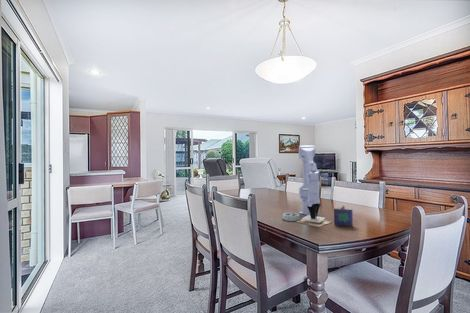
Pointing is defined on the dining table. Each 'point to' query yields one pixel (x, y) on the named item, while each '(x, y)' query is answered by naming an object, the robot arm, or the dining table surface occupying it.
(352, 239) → the dining table surface
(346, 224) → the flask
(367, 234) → the dining table surface
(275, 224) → the dining table surface
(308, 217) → the cover
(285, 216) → the bowl
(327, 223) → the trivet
